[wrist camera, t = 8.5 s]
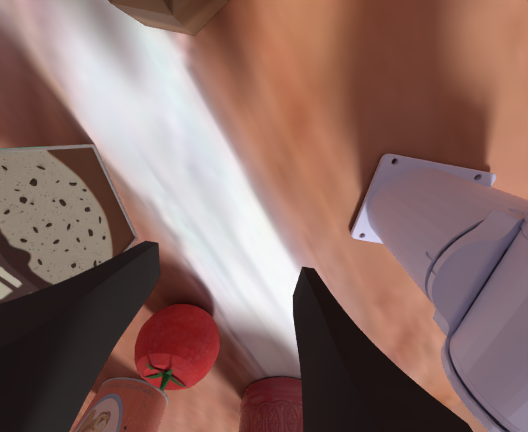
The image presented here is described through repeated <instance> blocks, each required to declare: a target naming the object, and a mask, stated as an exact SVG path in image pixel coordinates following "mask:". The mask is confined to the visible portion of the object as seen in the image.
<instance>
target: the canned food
mask: <svg viewBox="0 0 528 432" xmlns="http://www.w3.org/2000/svg"><path fill="white" fill-rule="evenodd" d="M167 405H168V398H167V396H166V394H165V393H164V392H163V391H162V390H160V388H158V387H156V386H154V385H152V384H150V383H149V382H146V381H143V380H140V379H136V378H129V377H116V378H111V379H108V380H106V381H105V382H103V383H102V385H101V386H100V389H99V391H98V392H97V394H96V395H95V397H94V399H93V400H92V402H91V403H90V405H89V407H88V408H87V410H86V411H85V413H84V415H83V416H82V418H81V419H80V421H79V423H78V424H77V426H76V427H75V429H74V431H73V432H157V431H158V428H159V425H160V422H161V420H162V417H163V414H164V411H165V409H166V407H167Z"/></svg>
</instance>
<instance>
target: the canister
mask: <svg viewBox="0 0 528 432" xmlns="http://www.w3.org/2000/svg"><path fill="white" fill-rule="evenodd" d="M240 407H241V409H240V426H239V432H303V409H302V386H301V380H299V379H295V378H289V377H272V378H266V379H262V380H259V381H257V382H255V383H253V384H251V385H250V386H249V387H248V388H247V389H246V390H245V392H244V395H243V399H242V401H241V406H240Z"/></svg>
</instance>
